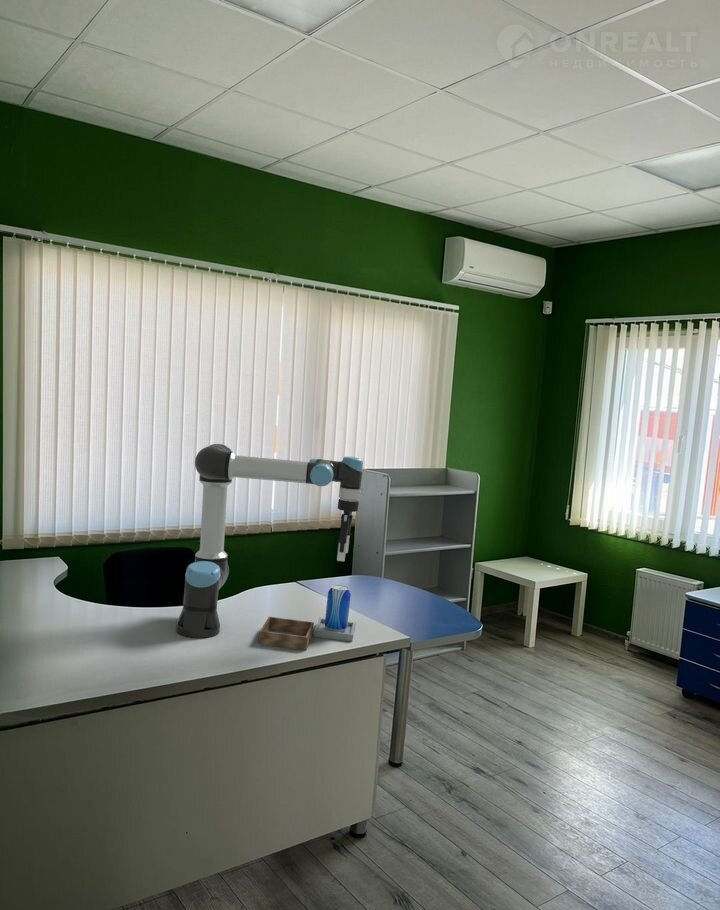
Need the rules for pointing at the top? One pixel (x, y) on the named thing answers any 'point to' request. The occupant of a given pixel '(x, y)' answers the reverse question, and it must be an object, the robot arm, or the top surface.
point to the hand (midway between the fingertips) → (342, 556)
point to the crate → (286, 639)
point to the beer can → (337, 608)
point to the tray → (324, 633)
